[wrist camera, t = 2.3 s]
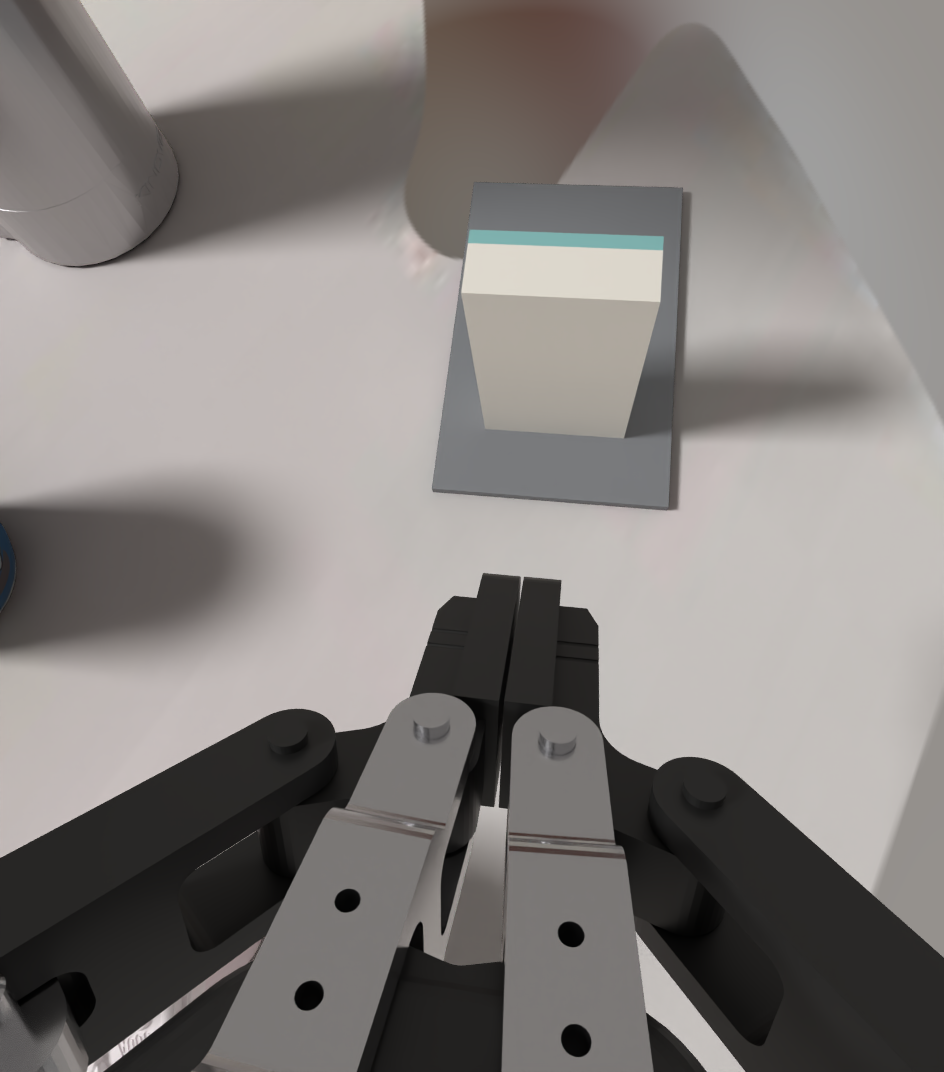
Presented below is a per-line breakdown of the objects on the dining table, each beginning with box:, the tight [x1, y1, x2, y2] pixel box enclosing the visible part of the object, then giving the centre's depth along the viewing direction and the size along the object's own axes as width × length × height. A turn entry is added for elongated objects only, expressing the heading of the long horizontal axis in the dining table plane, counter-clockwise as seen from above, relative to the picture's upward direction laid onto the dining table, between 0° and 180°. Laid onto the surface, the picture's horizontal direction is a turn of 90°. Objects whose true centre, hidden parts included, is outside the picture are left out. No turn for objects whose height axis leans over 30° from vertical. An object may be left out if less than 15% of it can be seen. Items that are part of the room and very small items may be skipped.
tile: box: [461, 230, 664, 438], centre depth 27 cm, size 6×2×10 cm, turn 83°
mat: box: [432, 182, 683, 510], centre depth 33 cm, size 10×16×1 cm, turn 173°
